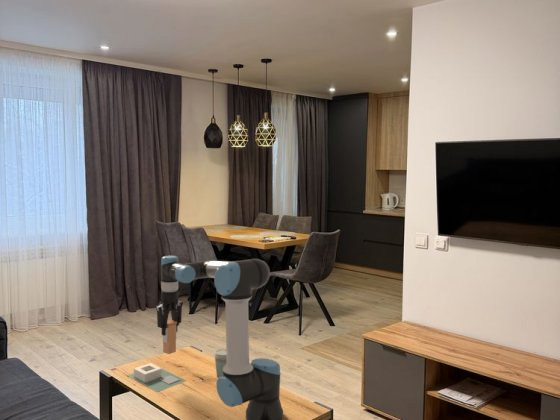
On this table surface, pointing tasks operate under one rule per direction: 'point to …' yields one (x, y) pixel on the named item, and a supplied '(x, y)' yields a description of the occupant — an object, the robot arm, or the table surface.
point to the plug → (170, 337)
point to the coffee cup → (220, 361)
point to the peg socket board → (155, 377)
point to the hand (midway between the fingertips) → (169, 340)
